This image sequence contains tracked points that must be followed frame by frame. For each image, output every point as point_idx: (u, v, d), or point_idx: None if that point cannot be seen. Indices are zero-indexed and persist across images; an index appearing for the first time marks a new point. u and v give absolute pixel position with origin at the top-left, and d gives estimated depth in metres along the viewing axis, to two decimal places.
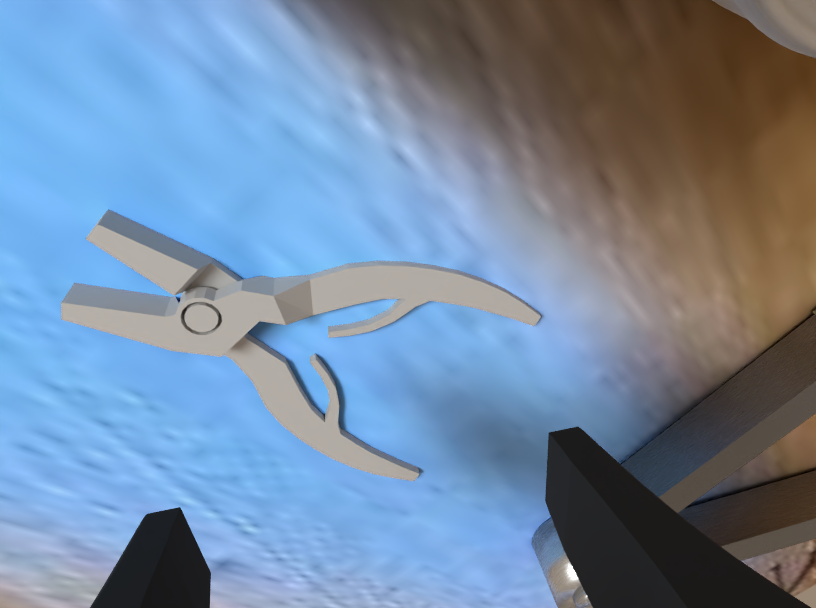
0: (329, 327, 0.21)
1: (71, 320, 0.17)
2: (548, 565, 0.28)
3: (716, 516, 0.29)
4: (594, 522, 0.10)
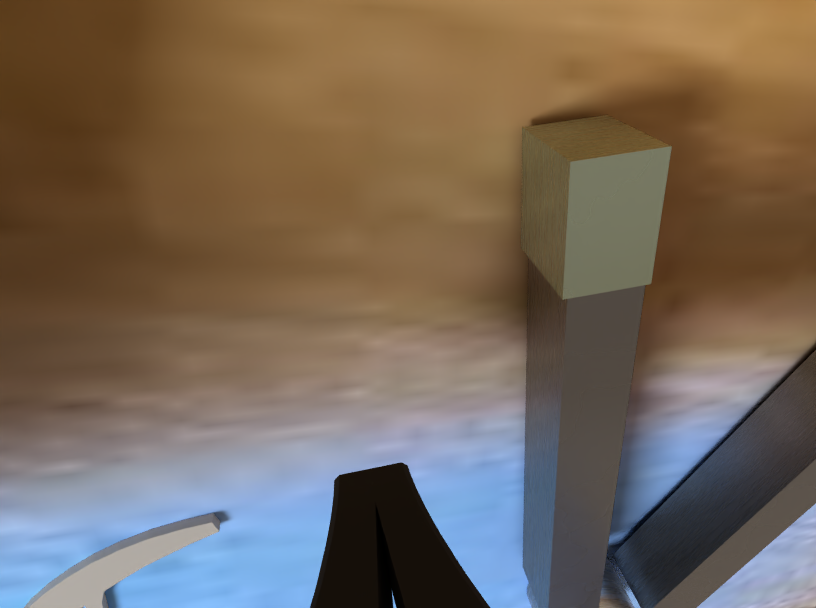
0: None
1: None
2: None
3: (724, 477, 0.19)
4: (391, 567, 0.09)
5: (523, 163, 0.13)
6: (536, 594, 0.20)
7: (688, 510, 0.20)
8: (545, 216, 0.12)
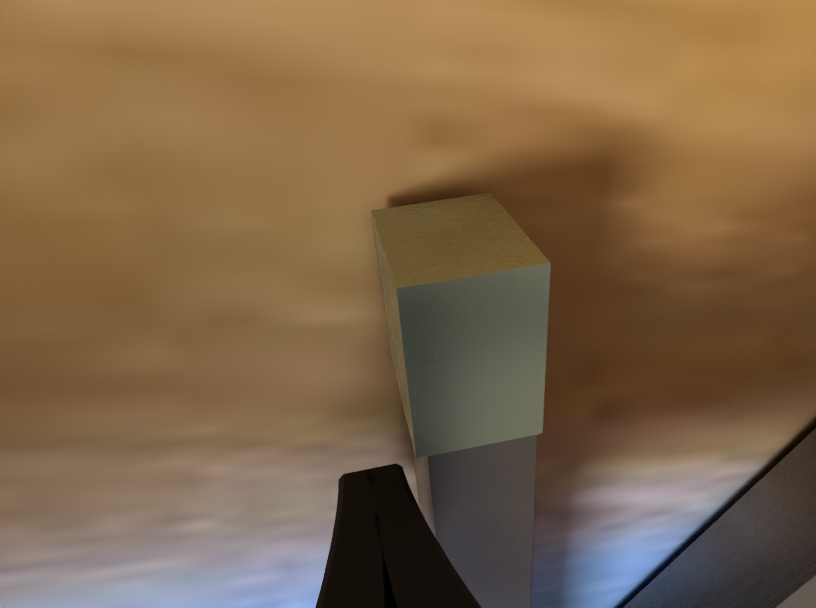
0: None
1: None
2: None
3: (676, 603, 0.16)
4: None
5: (378, 256, 0.10)
6: None
7: None
8: (395, 340, 0.09)
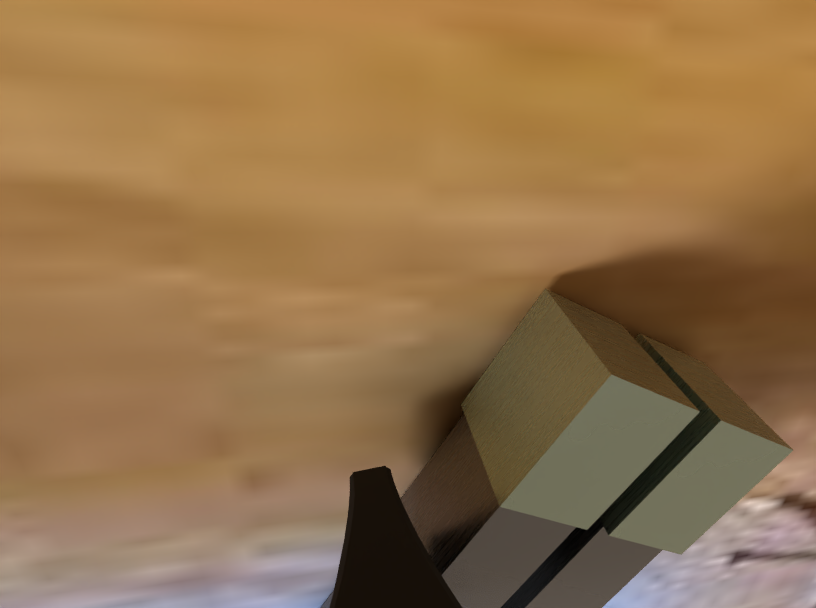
0: None
1: None
2: None
3: None
4: None
5: (523, 324, 0.11)
6: None
7: None
8: (526, 402, 0.10)
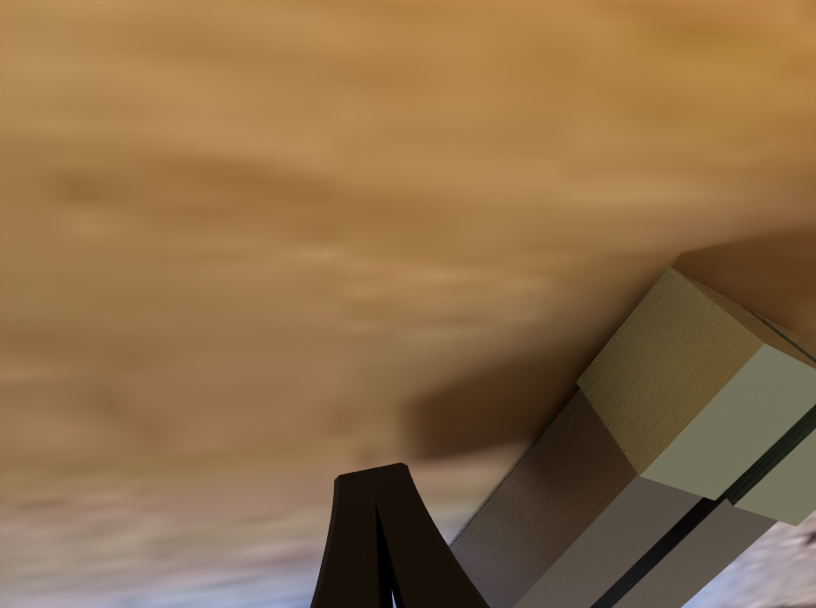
0: None
1: None
2: None
3: None
4: (391, 567, 0.09)
5: (645, 301, 0.11)
6: None
7: None
8: (660, 375, 0.10)
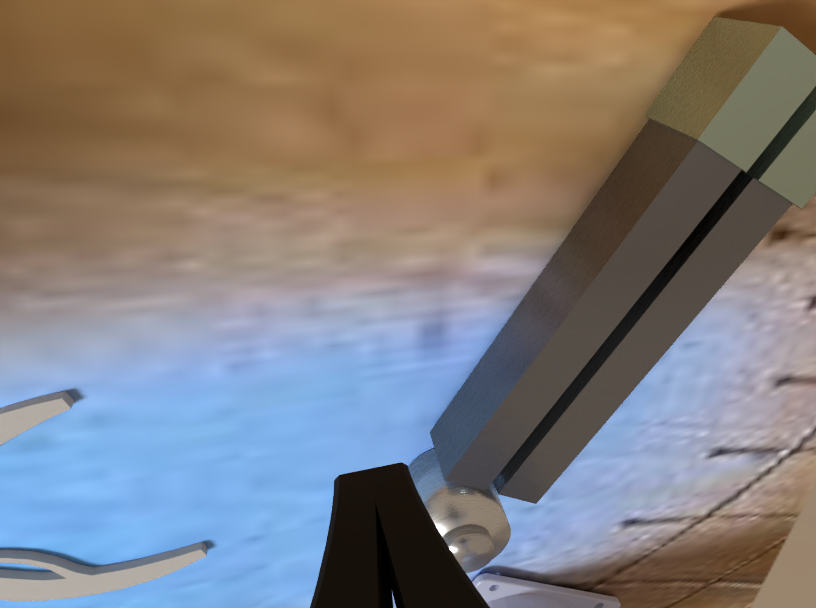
0: None
1: None
2: None
3: None
4: (391, 567, 0.09)
5: (696, 44, 0.16)
6: (443, 450, 0.21)
7: None
8: (709, 78, 0.15)
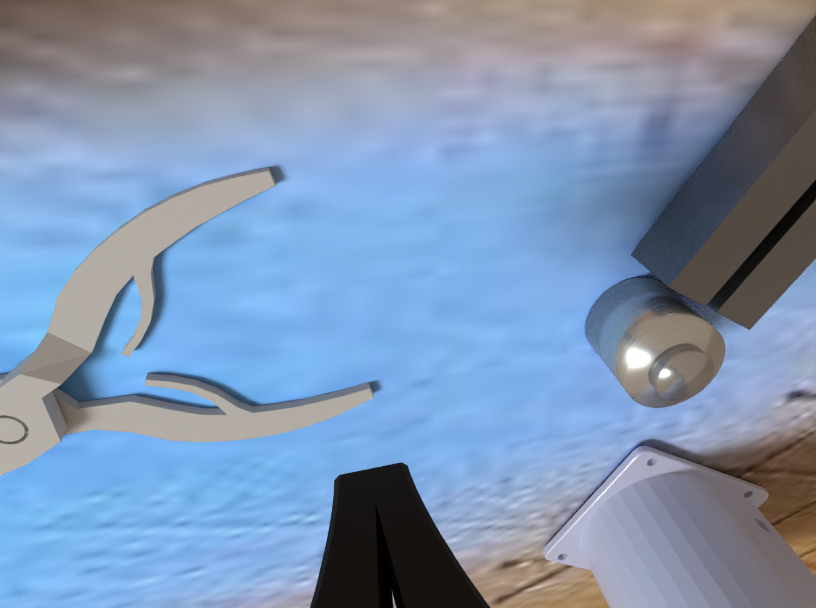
0: (124, 347, 0.19)
1: None
2: (610, 370, 0.21)
3: None
4: (391, 567, 0.09)
5: None
6: (660, 262, 0.19)
7: None
8: None
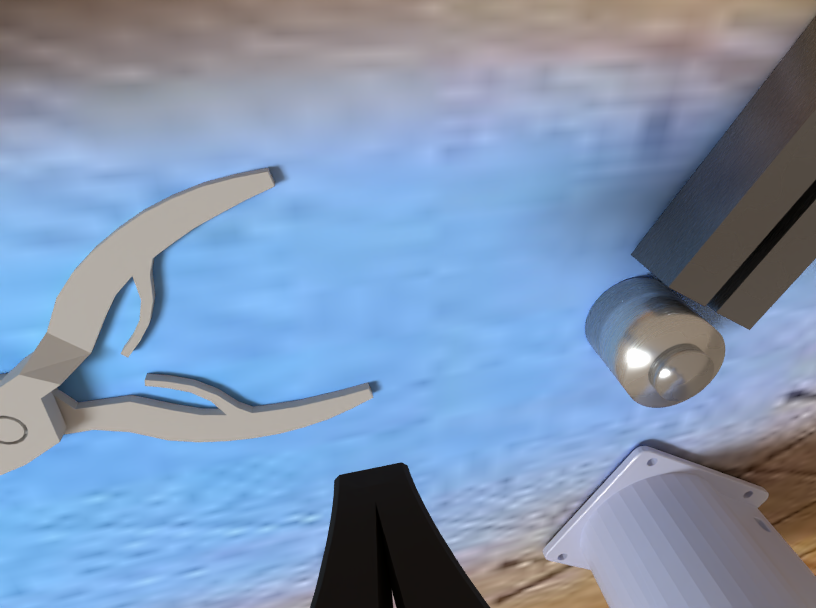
0: None
1: None
2: (610, 370, 0.21)
3: None
4: (391, 567, 0.09)
5: None
6: (660, 262, 0.19)
7: None
8: None
